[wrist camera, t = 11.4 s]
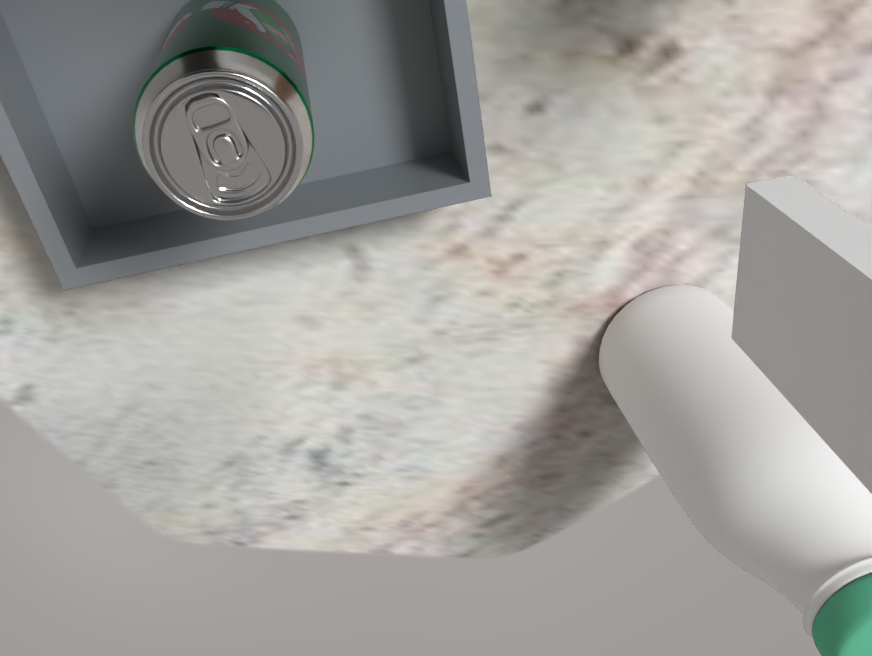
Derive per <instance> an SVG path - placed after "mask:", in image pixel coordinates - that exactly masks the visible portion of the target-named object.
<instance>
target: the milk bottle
mask: <svg viewBox="0 0 872 656" xmlns="http://www.w3.org/2000/svg"><path fill="white" fill-rule="evenodd" d="M733 315H734V311H733V310H732V309H731V308H730V307H729V306H728V305H727V304H726V303H725V302H723V301H722V300H721V299H720V298H719V297H718V296H717V295H715V294H714V293H712V292H710V291H708V290H706V289H703V288H700V287H696V286H690V285H670V286H663V287H659V288H657V289H654V290H650V291H648V292H646V293H644V294H642V295H640V296H638V297H636V298H635V299H634V300H632V301H631V302H630V303H628V304H627V305H625V306H624V307H623V309H622V310H621V311H620V312H619V313H618V314H616V315H615V317H614V318H613V320H612V321H611V323H610V324H609V325H608V327H607V329H606V332H605V334H604V336H603V338H602V342H601V346H600V351H599V368H600V373H601V376H602V378H603V381H604V382H605V384H606V386H607V388H608V390H609V392H610V393H611V395H612V397H613V398H614V400H615V402H616V403H617V405H618V407H619V408H620V410H621V412H622V413H623V415H624V417H625V418H626V420H627V421H628V423H629V425H630V426H631V428H632V430H633V431H634V433H635V435H636V436H637V438H638V439H639V441H640V443H641V444H642V446H643V448H644V449H645V451H646V452H647V454H648V456H649V457H650V459H651V461H652V462H653V464H654V465H655V467H656V468H657V470H658V472H659V473H660V475H661V476H662V478H663V480H664V481H665V483H666V484H667V486H668V488H669V489H670V491H671V492H672V494H673V495H674V497H675V498H676V500H677V502H678V503H679V505H680V506H681V507H682V509H683V510H684V512H685V513H686V515H687V516H688V518H689V519H690V521H691V522H692V524H693V525H694V526H695V527H696V529H697V530H698V531H699V532H700V533H701V534H702V536H703V537H704V538H705V539H706V540H707V541H708V542H709V543H710V544H711V545H712V546H713V547H714V548H715V549H716V550H717V551H718V552H719V553H720V554H722V555H723V556H724V557H725V558H727V559H728V560H729V561H731V562H732V563H734V564H735V565H737V566H738V567H740V568H741V569H743V570H744V571H746V572H748V573H750V574H752V575H753V576H755V577H756V578H758V579H760V580H762V581H763V582H765V583H766V584H768V585H769V586H771V587H773V588H774V589H775V590H777V591H778V592H779V593H780V594H782V595H783V596H784V597H785V598H786V599H787V600H789V601H790V602H791V603H792V604H793V605H794V606H795V607H796V608H797V609H798V610H799V611H800V612H801V614H803V616H802V623H803V627H804V629H805V631H806V633H807V634H808V635H809V636H810V637H811V638H813V639H814V643H815V645H816V647H817V649H818V650H819V652H820V654H821V655H822V656H872V494H871V493H870V492H869V491H868V489H867V488H866V487H865V486H864V485H863V484H862V483H861V482H860V481H859V479H858V478H857V477H856V476H855V475H854V474H853V473H852V472H851V471H850V469H849V468H848V467H847V466H846V465H845V464H844V463H843V462H842V461H841V459H840V458H839V457H838V456H837V455H836V454H835V453H834V452H833V451H832V449H831V448H830V447H829V446H828V445H827V444H826V443H825V442H824V440H823V439H822V438H821V437H820V436H819V435H818V434H817V433H816V432H815V430H814V429H813V428H812V427H811V426H810V425H809V424H808V423H807V422H806V420H805V419H804V418H803V417H802V416H801V415H800V414H799V413H798V412H797V410H796V409H795V408H794V407H793V406H792V405H791V404H790V403H789V402H788V400H787V399H786V398H785V397H784V396H783V395H782V394H781V393H780V392H779V390H778V389H777V388H776V387H775V386H774V385H773V384H772V383H771V382H770V380H769V379H768V378H767V377H766V376H765V375H764V374H763V373H762V372H761V370H760V369H759V368H758V367H757V366H756V365H755V364H754V363H753V362H752V360H751V359H750V358H749V357H748V356H747V355H746V354H745V353H744V352H743V350H742V349H741V348H740V347H739V346H738V345H737V344H736V343H735V341H734V340H733V339H732V338H731V336H732V325H733Z"/></svg>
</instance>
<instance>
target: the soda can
mask: <svg viewBox="0 0 872 656" xmlns="http://www.w3.org/2000/svg"><path fill="white" fill-rule="evenodd" d="M133 136H134V142H135V146H136V150H137V154H138V156H139V158H140V161H141V163H142V165H143V167H144V169H145V170H146V172H147V173H148V175H149V177H150V178H151V179H152V180H153V182H154V183H155V184H156V185H157V186H158V187H159V189H161V190H162V191H163V192H164V193H165V195H167V196H168V197H169V198H170V199H171V200H172V201H173V202H175V203H176V204H177V205H179V206H181V207H182V208H184V209H185V210H187V211H189V212H191V213H194V214H196V215H198V216H202V217H205V218H208V219H214V220H220V221H235V220H243V219H247V218H251V217H255V216H257V215H259V214H262V213H264V212H266V211H268V210H270V209H272V208H274V207H275V206H277V205H278V204H280V203H282V202H283V201H284V200H286V199H287V198H288V197H289V196H290V195H291V194H292V193H293V192H294V191H295V190H296V189H297V187H298V186H299V185H300V184H301V182H302V180H303V179H304V177H305V175H306V174H307V171H308V169H309V166H310V163H311V161H312V156H313V151H314V137H315V134H314V126H313V119H312V112H311V105H310V98H309V92H308V85H307V78H306V71H305V64H304V57H303V51H302V44H301V40H300V37H299V33H298V31H297V29H296V27H295V24H294V22H293V21H292V19H291V18H290V16H289V15H288V13H287V12H286V11H285V10H284V9H283V8H282V7H281V6H280V5H279V4H278V3H277V2H276V1H274V0H190V1H189V2H188V3H187V4H186V5H185V6H184V8H183V9H182V10H181V12H180V13H179V15H178V17H177V19H176V21H175V23H174V25H173V27H172V29H171V31H170V33H169V35H168V37H167V39H166V41H165V43H164V45H163V47H162V49H161V51H160V53H159V55H158V57H157V59H156V61H155V63H154V65H153V67H152V69H151V71H150V73H149V75H148V77H147V79H146V81H145V83H144V85H143V88H142V90H141V92H140V94H139V96H138V98H137V102H136V105H135V109H134V116H133Z"/></svg>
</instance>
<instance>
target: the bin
mask: <svg viewBox="0 0 872 656" xmlns="http://www.w3.org/2000/svg"><path fill="white" fill-rule="evenodd" d="M189 1H190V0H0V155H1V158H2V160H3V162H4V164H5V166H6V168H7V170H8V173H9V175H10V177H11V179H12V181H13V183H14V185H15V187H16V190H17V192H18V194H19V196H20V198H21V200H22V202H23V204H24V207H25V209H26V211H27V213H28V215H29V217H30V219H31V221H32V224H33V226H34V228H35V230H36V232H37V234H38V236H39V239H40V241H41V243H42V245H43V247H44V249H45V251H46V253H47V256H48V258H49V260H50V262H51V264H52V266H53V268H54V270H55V273H56V275H57V277H58V279H59V281H60V283H61V285H62V288H63V290H68V289H72V288H77V287H81V286H86V285H90V284H95V283H99V282H104V281H109V280H113V279H118V278H122V277H127V276H131V275H136V274H140V273H145V272H149V271H154V270H158V269H163V268H168V267H172V266H177V265H181V264H186V263H190V262H195V261H199V260H204V259H208V258H213V257H218V256H222V255H227V254H231V253H236V252H240V251H245V250H249V249H254V248H258V247H263V246H268V245H272V244H277V243H281V242H286V241H290V240H295V239H299V238H304V237H308V236H313V235H318V234H322V233H327V232H331V231H336V230H340V229H345V228H349V227H354V226H358V225H363V224H368V223H372V222H377V221H381V220H386V219H390V218H395V217H399V216H404V215H408V214H413V213H418V212H422V211H427V210H431V209H436V208H440V207H445V206H449V205H454V204H458V203H463V202H468V201H472V200H477V199H481V198H486V197H490V196H491V190H490V182H489V174H488V166H487V159H486V151H485V143H484V135H483V127H482V120H481V112H480V104H479V96H478V89H477V81H476V73H475V65H474V57H473V50H472V42H471V34H470V26H469V19H468V11H467V3H466V0H274V1H276V2H277V3H278V4H279V5H280V6H281V7H282V8H283V9H284V10H285V11H286V12H287V13H288V15H289V16H290V18H291V19H292V21H293V22H294V24H295V27H296V29H297V31H298V33H299V37H300V40H301V44H302V51H303V57H304V64H305V71H306V78H307V85H308V92H309V98H310V105H311V112H312V119H313V126H314V134H315V137H314V151H313V156H312V161H311V163H310V166H309V169H308V171H307V174H306V175H305V177H304V179H303V180H302V182H301V184H300V185H299V186H298V187H297V189H296V190H295V191H294V192H293V193H292V194H291V195H290V196H289V197H288V198H287V199H286V200H284V201H283V202H282V203H280V204H278V205H277V206H275V207H274V208H272V209H270V210H268V211H266V212H264V213H262V214H259V215H257V216H255V217H251V218H247V219H243V220H235V221H220V220H214V219H208V218H205V217H202V216H198V215H196V214H194V213H191V212H189V211H187V210H185V209H184V208H182V207H181V206H179V205H177V204H176V203H175V202H173V201H172V200H171V199H170V198H169V197H168V196H167V195H165V193H164V192H163V191H162V190H161V189H159V187H158V186H157V185H156V184H155V183H154V182H153V180H152V179H151V178H150V177H149V175H148V173H147V172H146V170H145V169H144V167H143V165H142V163H141V161H140V158H139V156H138V154H137V150H136V146H135V142H134V136H133V116H134V109H135V105H136V102H137V98H138V96H139V94H140V92H141V90H142V88H143V85H144V83H145V81H146V79H147V77H148V75H149V73H150V71H151V69H152V67H153V65H154V63H155V61H156V59H157V57H158V55H159V53H160V51H161V49H162V47H163V45H164V43H165V41H166V39H167V37H168V35H169V33H170V31H171V29H172V27H173V25H174V23H175V21H176V19H177V17H178V15H179V13H180V12H181V10H182V9H183V8H184V6H185V5H186V4H187V3H188V2H189Z"/></svg>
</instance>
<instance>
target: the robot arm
mask: <svg viewBox="0 0 872 656" xmlns="http://www.w3.org/2000/svg"><path fill="white" fill-rule="evenodd" d="M731 338H732V339H733V340H734V341H735V343H736V344H737V345H738V346H739V347H740V348H741V349H742V350H743V352H744V353H745V354H746V355H747V356H748V357H749V358H750V359H751V360H752V362H753V363H754V364H755V365H756V366H757V367H758V368H759V369H760V370H761V372H762V373H763V374H764V375H765V376H766V377H767V378H768V379H769V380H770V382H771V383H772V384H773V385H774V386H775V387H776V388H777V389H778V390H779V392H780V393H781V394H782V395H783V396H784V397H785V398H786V399H787V400H788V402H789V403H790V404H791V405H792V406H793V407H794V408H795V409H796V410H797V412H798V413H799V414H800V415H801V416H802V417H803V418H804V419H805V420H806V422H807V423H808V424H809V425H810V426H811V427H812V428H813V429H814V430H815V432H816V433H817V434H818V435H819V436H820V437H821V438H822V439H823V440H824V442H825V443H826V444H827V445H828V446H829V447H830V448H831V449H832V451H833V452H834V453H835V454H836V455H837V456H838V457H839V458H840V459H841V461H842V462H843V463H844V464H845V465H846V466H847V467H848V468H849V469H850V471H851V472H852V473H853V474H854V475H855V476H856V477H857V478H858V479H859V481H860V482H861V483H862V484H863V485H864V486H865V487H866V488H867V489H868V491H869V492H870V493H871V494H872V227H871V226H870V225H868V224H867V223H865V222H864V221H862V220H861V219H859V218H858V217H856V216H855V215H853V214H852V213H850V212H849V211H847V210H846V209H844V208H843V207H841V206H840V205H838V204H837V203H835V202H834V201H832V200H831V199H829V198H828V197H826V196H825V195H823V194H822V193H820V192H819V191H817V190H816V189H814V188H813V187H811V186H810V185H808V184H807V183H805V182H804V181H802V180H801V179H799V178H798V177H796V176H795V175H793V176H787V177H782V178H777V179H772V180H766V181H761V182H756V183H750V184H746V188H745V198H744V209H743V220H742V230H741V241H740V251H739V262H738V272H737V283H736V294H735V304H734V315H733V325H732V336H731Z"/></svg>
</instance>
